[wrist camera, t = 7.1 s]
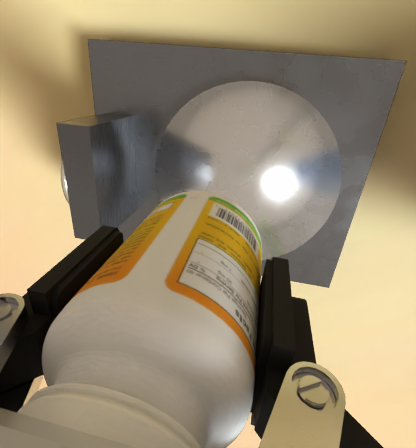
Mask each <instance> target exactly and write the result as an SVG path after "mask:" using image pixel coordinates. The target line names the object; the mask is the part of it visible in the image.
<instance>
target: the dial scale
mask: <svg viewBox="0 0 416 448" xmlns="http://www.w3.org/2000/svg"><path fill="white" fill-rule="evenodd" d="M88 47H89V57H90V67H91V77H92V87H93V97H94V107H95V116H89V117H84V118H79V119H74V120H68V121H63V122H58V123H56V124H57V130H58V136H59V142H60V148H61V155H62V164H61V183H62V189H63V192H64V195H65V198H66V200H67V201H68V203H69V205H70V210H71V216H72V222H73V229H74V235H75V238H80V239H87V238H88V237H90V236H91V235H92V234H93V233H94V232H95V231H97V230H98V229H99V228H100V227H101V226H103V225H105V226H110V227H116V228H118V229H119V231H120V232H122V233H123V241H124V242H125V241H126V240H127V239H128V237H129V236H130V235H131V234H132V233H133V232H134V231H135V230H136V229H137V228H138V226H139V225H140V224H141V223H142V222H143V221H144V220H145V219H146V218H147V216H148V215H149V214H150V213H151V212H152V211H153V210H154V209H155V208H156V207H157V206H158V205H159V204H160V203H162V202H163V201H164V200H166V199H168V198H170V197H172V196H174V195H176V194H179V193H183V192H188V191H207V192H212V193H216V194H219V195H222V196H224V197H226V198H228V199H230V200H232V201H233V202H235V203H236V204H238V205H239V206H240V207H241V208H243V209H244V210H245V211H246V212H247V214H248V215H249V216H250V217H251V219H252V220H253V222H254V224H255V225H256V227H257V229H258V232H259V235H260V238H261V243H262V265H261V276H263V271H264V267H265V263H266V259H268V260H272V257H278V258H284V259H288V261H289V272H290V281H294V282H300V283H305V284H311V285H316V286H322V287H327V288H329V286H330V283H331V280H332V277H333V274H334V271H335V268H336V265H337V262H338V260H339V257H340V254H341V251H342V248H343V245H344V242H345V239H346V236H347V233H348V230H349V227H350V225H351V222H352V219H353V216H354V213H355V210H356V207H357V204H358V201H359V198H360V195H361V192H362V190H363V187H364V184H365V181H366V178H367V175H368V172H369V169H370V166H371V163H372V160H373V157H374V154H375V152H376V149H377V146H378V143H379V140H380V137H381V134H382V131H383V128H384V125H385V122H386V119H387V117H388V114H389V111H390V108H391V105H392V102H393V99H394V96H395V93H396V90H397V87H398V84H399V82H400V79H401V76H402V73H403V70H404V67H405V64H406V61H400V60H385V59H371V58H356V57H341V56H327V55H312V54H298V53H283V52H269V51H254V50H240V49H225V48H211V47H196V46H182V45H167V44H153V43H138V42H123V41H109V40H94V39H88Z"/></svg>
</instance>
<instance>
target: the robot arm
mask: <svg viewBox="0 0 416 448" xmlns="http://www.w3.org/2000/svg"><path fill="white" fill-rule="evenodd" d="M123 243H124V241H123V233H122V232H120V231H119V229H118V228H116V227H110V226H105V225H103V226H101V227H100V228H99V229H98V230H97V231H95V232H94V233H93V234H92V235H91V236H90V237H88V238H87V239H86V240H85V241H84V242H82V243H81V244H80V245H79V246H78V247H77V248H75V249H74V250H73V251H72V252H71V253H70V254H68V255H67V256H66V257H65V258H64V259H62V260H61V261H60V262H59V263H58V264H57V265H55V266H54V267H53V268H52V269H51V270H50V271H48V272H47V273H46V274H45V275H44V276H42V277H41V278H40V279H39V280H38V281H37V282H35V283H34V284H33V285H32V286H31V287H30V288H28V289H27V291H28V292H27V293H26V294H25V295H24V296H23V297H21V296H19V295H17V294H10V293H6V294H0V448H135V447H132V446H128V445H125V444H122V443H118V442H115V441H112V440H108V439H105V438H101V437H98V436H95V435H91V434H88V433H85V432H81V431H78V430H74V429H71V428H68V427H64V426H61V425H57V424H54V423H51V422H47V421H44V420H40V419H37V418H34V417H30V416H27V415H23V414H20V413H17V412H18V411H19V409H20V408H22V407H23V406H24V405H25V404H27V402H28V401H29V399H30V398H31V397H32V396H33V395H34V394H35V393H36V392H37V391H38V389H39V386H40V384H41V381H42V379H43V375H44V374H43V368H42V350H43V344H44V341H45V337H46V334H47V332H48V330H49V328H50V326H51V324H52V323H53V321H54V320H55V318H56V317H57V316H58V315H59V313H60V312H61V311H62V310H63V309H64V307H65V306H66V305H67V304H68V303H69V301H70V300H71V299H72V298H73V297H74V296H75V295H76V294H77V293H78V291H79V290H80V289H81V288H82V287H83V286H84V285H85V284H86V283H87V282H88V281H89V280H90V278H91V277H92V276H93V275H94V274H95V273H96V272H97V271H98V270H99V269H100V268H101V267H102V266H103V265H104V263H105V262H106V261H107V260H108V259H109V258H110V257H111V256H112V255H113V254H114V253H115V252H116V250H117V249H118V248H119V247H120V246H121V245H122V244H123ZM345 404H346V403H345V393H344V391H343V388H342V386H341V384H340V383H339V381H338V380H337V378H336V377H335V376H334V375H333V374H332V373H331V372H329V371H328V370H327V369H325V368H323V367H322V366H320V365H318V364H316V359H315V353H314V346H313V340H312V333H311V326H310V320H309V313H308V306H307V302H306V300H305V299H301V298H296V297H292V296H291V284H290V272H289V261H288V259H284V258H278V257H272V260H268V259H266V263H265V267H264V271H263V276H262V280H261V285H260V296H259V315H258V330H257V346H256V366H255V384H254V391H253V401H252V406H251V411H250V412H252V416H251V425H254V426H255V431H256V433H257V434H258V436H259V437H260V438H261V442H260V445H259V448H383V447H382V446H381V445H380V444H379V443H378V442H377V441H376V440H375V439H374V438H373V437H372V436H371V435H370V434H369V433H368V432H367V431H366V430H365V429H364V428H363V427H362V426H361V425H360V424H359V423H358V422H357V421H356V420H355V419H354V418H353V417H352V416H351V415H350V414H349V413H348V412H347V411H346V410H345Z"/></svg>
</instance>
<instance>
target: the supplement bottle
mask: <svg viewBox="0 0 416 448" xmlns="http://www.w3.org/2000/svg"><path fill="white" fill-rule="evenodd" d="M261 265H262V243H261V238H260V235H259V232H258V229H257V227H256V225H255V224H254V222H253V220H252V219H251V217H250V216H249V215H248V214H247V212H246V211H245V210H244V209H243V208H241V207H240V206H239V205H238V204H236V203H235V202H233V201H232V200H230V199H228V198H226V197H224V196H222V195H219V194H216V193H212V192H207V191H188V192H183V193H179V194H176V195H174V196H172V197H170V198H168V199H166V200H164V201H163V202H162V203H160V204H159V205H158V206H157V207H156V208H155V209H154V210H153V211H152V212H151V213H150V214H149V215H148V216H147V218H146V219H145V220H144V221H143V222H142V223H141V224H140V225H139V226H138V228H137V229H136V230H135V231H134V232H133V233H132V234H131V235H130V236H129V237H128V239H127V240H126V241H125V242H124V243H123V244H122V245H121V246H120V247H119V248H118V249H117V250H116V252H115V253H114V254H113V255H112V256H111V257H110V258H109V259H108V260H107V261H106V262H105V263H104V265H103V266H102V267H101V268H100V269H99V270H98V271H97V272H96V273H95V274H94V275H93V276H92V277H91V278H90V280H89V281H88V282H87V283H86V284H85V285H84V286H83V287H82V288H81V289H80V290H79V291H78V293H77V294H76V295H75V296H74V297H73V298H72V299H71V300H70V301H69V303H68V304H67V305H66V306H65V307H64V309H63V310H62V311H61V312H60V313H59V315H58V316H57V317H56V318H55V320H54V321H53V323H52V324H51V326H50V328H49V330H48V332H47V334H46V337H45V341H44V344H43V350H42V368H43V374H44V378H45V380H46V383H47V386H48V387H45V388H43V389H41V390H39V391H38V392H36V393H35V394H34V395H33V396H32V397H31V398H30V399H29V401H28V402H27V404H25V405H24V406H23V407H22V408H20V409H19V411H18V412H17V413H20V414H23V415H27V416H30V417H34V418H37V419H40V420H44V421H47V422H51V423H54V424H57V425H61V426H64V427H68V428H71V429H74V430H78V431H81V432H85V433H88V434H91V435H95V436H98V437H101V438H105V439H108V440H112V441H115V442H118V443H122V444H125V445H128V446H132V447H135V448H226V447H227V446H228V445H230V444H231V443H232V442H233V441H234V440H235V439H236V438H237V436H238V435H239V434H240V432H241V431H242V430H243V428H244V426H245V424H246V422H247V420H248V417H249V414H250V411H251V406H252V401H253V391H254V384H255V366H256V346H257V330H258V315H259V296H260V280H261Z"/></svg>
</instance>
